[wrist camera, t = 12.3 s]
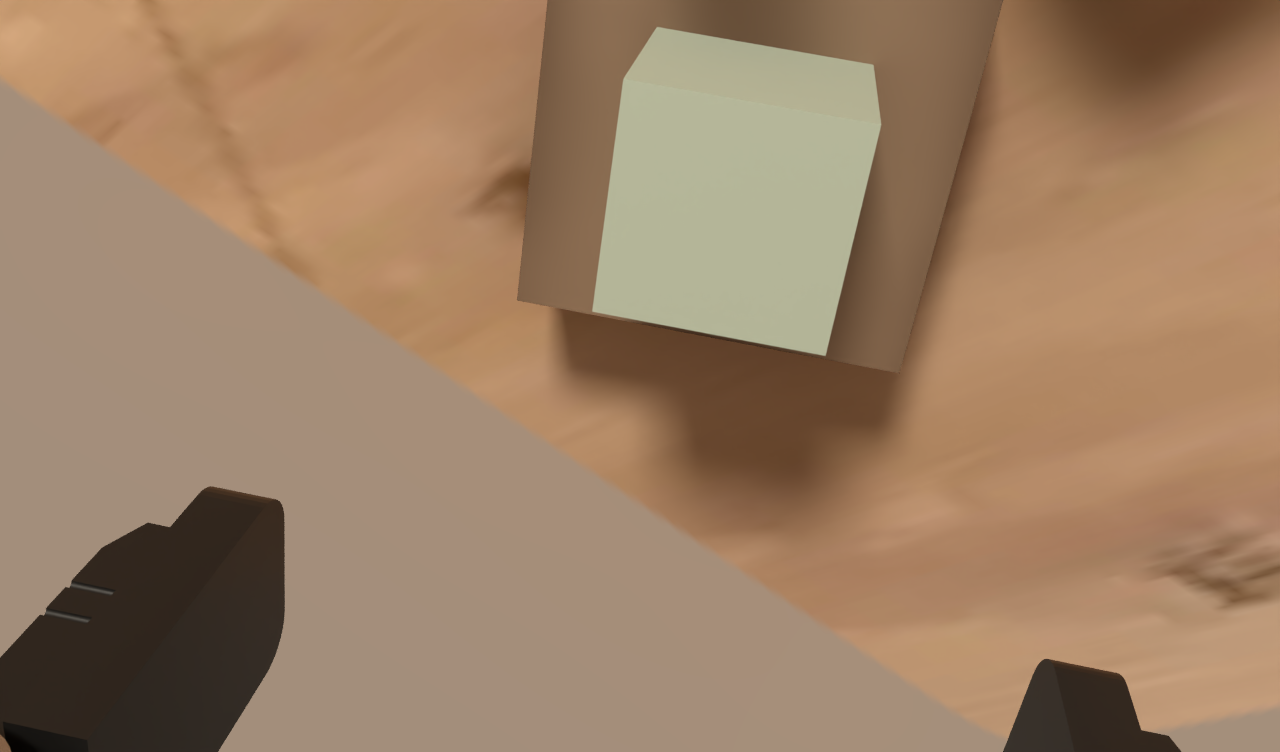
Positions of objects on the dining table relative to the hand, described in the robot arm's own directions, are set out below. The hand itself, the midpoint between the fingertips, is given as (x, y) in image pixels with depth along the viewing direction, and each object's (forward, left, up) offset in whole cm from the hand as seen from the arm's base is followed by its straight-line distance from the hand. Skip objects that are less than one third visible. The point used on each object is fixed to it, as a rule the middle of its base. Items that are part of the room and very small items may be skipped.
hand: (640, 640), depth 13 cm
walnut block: (0, 0, -22) cm, 22 cm away
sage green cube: (0, 0, -18) cm, 18 cm away
